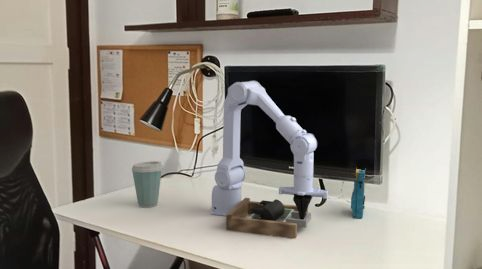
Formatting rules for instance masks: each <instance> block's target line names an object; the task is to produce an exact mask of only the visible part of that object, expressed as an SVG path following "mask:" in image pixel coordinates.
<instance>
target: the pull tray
mask: <svg viewBox="0 0 482 269" xmlns="http://www.w3.org/2000/svg"><path fill="white" fill-rule="evenodd" d="M284 209H285V208H284ZM252 217H255V218H261V217H260V215H259V214H252V215H251V214H250V216H249V217H248V218H252ZM281 218H282V219H284V220H283V221H282V222H288V223H297V228H305V229H306V228H307V227H308V225H309V223H311V220H312V212H309V211H308V212H306V216H305V218H304V219H303V220H302V219H300V217H299V213H298V211H294V209H285V211H284V214H283V215H282V216H281V217H280V218H279V219H281ZM294 218H295V219H294Z"/></svg>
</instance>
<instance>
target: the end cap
mask: <svg viewBox="0 0 482 269" xmlns="http://www.w3.org/2000/svg"><path fill="white" fill-rule="evenodd" d="M259 202H260V204H263V206H260V205H255V206H254V207H253V208H252V214H259V215H260V218H255V217H252V219H261V220H270V221H278V220H279V219H281V218H280V217H281V216H282V215H283V214H284V211H285V209H284V205H285V204H284V205H283V202H282V201H281V200H279V199H274V200H272V201H270V200H260V201H259Z"/></svg>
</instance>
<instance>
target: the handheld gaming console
mask: <svg viewBox="0 0 482 269" xmlns="http://www.w3.org/2000/svg"><path fill="white" fill-rule="evenodd" d="M355 176H356V178H354V182H353V191H352V194H351V198H350V209H351V214H352V218H355V219H358V220H362V218H364V210H365V208H366V205H365V202H366V195H365V189H366V188H365V186H366V185H365V183H366V182H365V183H364V178H365V179H366V169H365V170H361V169H357V168H356V170H355Z"/></svg>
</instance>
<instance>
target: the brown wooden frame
mask: <svg viewBox="0 0 482 269" xmlns="http://www.w3.org/2000/svg"><path fill="white" fill-rule="evenodd" d="M260 202H261V201H254V200H251V198H250V197H244V198H243V199H241V202H240V203H239V204H238V205H236V206H235V207H234V208H233V209H232V210H231V211H230V212H228V213H227V214H226V217H225V220H226V221H225V222H226V224H225V225H226V228H225V229H226V230H225V231H227V232H228V231H229V232H237V233H245V234H254V235H263V236H269V235H272V236H271V237H278V236H279V238H286V237H287V238H286V239H294V238H295V239H296V238H297V237H298V235H297V234H298V233H297V232H298V227H297V223H288V222H283V221H280V220H279V221H278V220H277V221H270V220H261V219H252V218H249V217H247V216H248V215H250V216H251V215H252V208H253V207H254V206H255V205H260V206H263V204H260ZM282 204H283V203H282ZM283 205H284V208H285V209H294V211H298V209H297V207H296V205H293V204H283ZM307 212H308V213H309V207H308V208H307ZM294 219H295V218H294Z"/></svg>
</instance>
